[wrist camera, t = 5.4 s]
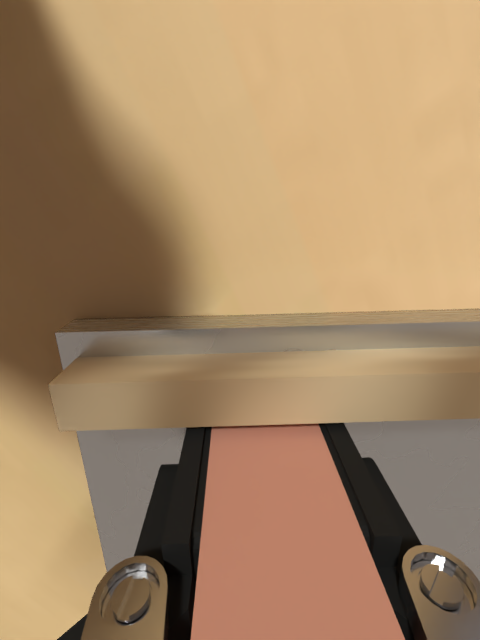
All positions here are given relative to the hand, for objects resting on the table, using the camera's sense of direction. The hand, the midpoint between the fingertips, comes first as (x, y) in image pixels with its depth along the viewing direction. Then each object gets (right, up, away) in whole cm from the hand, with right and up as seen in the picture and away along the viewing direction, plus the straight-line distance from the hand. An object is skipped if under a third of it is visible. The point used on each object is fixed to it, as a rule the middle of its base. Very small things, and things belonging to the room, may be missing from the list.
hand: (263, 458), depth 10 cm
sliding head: (0, 0, +1) cm, 1 cm away
